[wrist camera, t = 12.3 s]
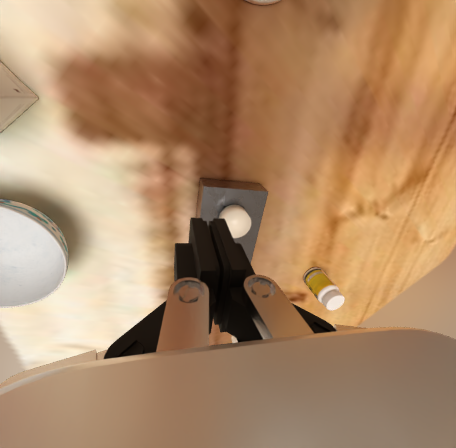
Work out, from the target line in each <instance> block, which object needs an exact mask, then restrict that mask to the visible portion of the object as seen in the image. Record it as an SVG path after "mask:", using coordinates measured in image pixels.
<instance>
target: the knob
mask: <svg viewBox="0 0 456 448" xmlns="http://www.w3.org/2000/svg"><path fill="white" fill-rule="evenodd" d="M219 218H224V219H225V221H226V223H227V225H228V228H229V230H230V232H231V235H232V237H233V238H239V237H242V236H244V235H245V234H246V233H247V232H248V231H249V230H250V227H251V219H250V217H249V215H248V214H247V212H246V211H245V210H244V208H243V207H241V206H239V205H229V206H223V210H222V211H221V213H220V215H219Z"/></svg>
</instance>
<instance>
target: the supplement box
mask: <svg viewBox="0 0 456 448" xmlns="http://www.w3.org/2000/svg"><path fill="white" fill-rule="evenodd" d="M37 100H38V97H37V96H36V95H35V94H34V93H33V92H32V91H31V90H30V89H29V88H27V87H26V86H25V85H24V84H23V83H22V82H21V81H20V80H19V79H18V78H17V77H16V76H15V75H14V74H13V73H12V72H11V71H10V70H9V69H8V68H7V67H6V66H5V65H3V63H2V62H1V61H0V132H2V131H3V130H4V129H5V128H6V127H7V126H8V125H9V124H11V123H12V122H13V121H14V120H15V119H16V118H17V117H19V116H20V115H21V114H22V113H23V112H24V111H25V110H27V109H28V108H29V107H30V106H31V105H32V104H33V103H34V102H36V101H37Z"/></svg>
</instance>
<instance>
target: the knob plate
mask: <svg viewBox="0 0 456 448" xmlns="http://www.w3.org/2000/svg"><path fill="white" fill-rule="evenodd" d="M267 195H268V191H267V190H266V189H265V188H264V187H263V186H262V185H261V184H260V183H250V182H239V181H228V180H217V179H206V178H200V182H199V191H198V201H197V210H196V218H202V219H203V221H207V225H208V224H209V221H213V218H219V215H220V213H221V211H222V210H223V206H229V205H239V206H241V207H243V208H244V210H245V211H246V212H247V214H248V215H249V217H250V219H251V227H250V230H249V231H248V232H247V233H246V234H245V235H244V236H242V237H239V238H233V239H234V242H235V243H240V244H241V245H242V247H243V249H244V251H245V253H246V255H247V258H248V260H249V262H250V264H251V260H252V256H253V252H254V248H255V244H256V239H257V235H258V231H259V227H260V223H261V219H262V215H263V211H264V207H265V203H266V199H267Z"/></svg>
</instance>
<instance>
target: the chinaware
mask: <svg viewBox="0 0 456 448" xmlns="http://www.w3.org/2000/svg"><path fill="white" fill-rule="evenodd" d="M67 267H68V247H67V243H66V240H65V238H64V235H63V234H62V232H61V230H60V229H59V227H58V226H57V225H56V224H55V223H54V222H53V221H52V220H51V219H50V218H49V217H48V216H46V215H45V214H43V213H42V212H40V211H39V210H37V209H35V208H33V207H30V206H28V205H25V204H22V203H19V202H15V201H11V200H5V199H0V308H9V307H19V306H24V305H29V304H32V303H35V302H38V301H40V300H42V299H44V298H46V297H48V296H49V295H51V294H52V293H53V292H55V291H56V290H57V289H58V287H59V286H60V285H61V283H62V282H63V280H64V278H65V275H66V272H67Z"/></svg>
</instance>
